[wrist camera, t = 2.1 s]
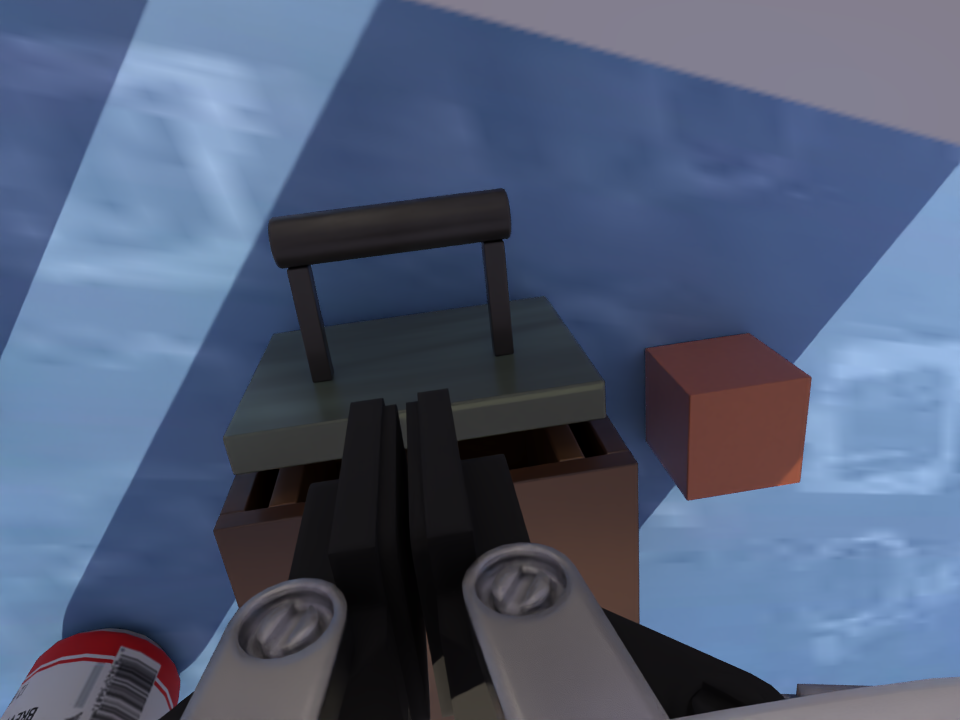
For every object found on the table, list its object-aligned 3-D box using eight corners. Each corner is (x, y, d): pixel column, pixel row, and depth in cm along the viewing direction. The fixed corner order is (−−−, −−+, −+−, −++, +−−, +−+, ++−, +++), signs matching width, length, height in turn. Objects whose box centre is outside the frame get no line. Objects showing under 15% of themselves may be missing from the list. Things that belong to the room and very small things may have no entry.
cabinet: (274, 379, 25) (211, 531, 17) (559, 338, 26) (638, 463, 18) (343, 648, 31) (323, 863, 23) (575, 608, 32) (641, 801, 23)
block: (644, 347, 27) (689, 395, 23) (749, 332, 27) (812, 376, 23) (645, 441, 29) (687, 501, 25) (743, 426, 29) (800, 483, 25)
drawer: (238, 198, 22) (163, 253, 15) (536, 160, 23) (600, 196, 16) (342, 609, 29) (325, 776, 22) (564, 571, 30) (616, 722, 23)
